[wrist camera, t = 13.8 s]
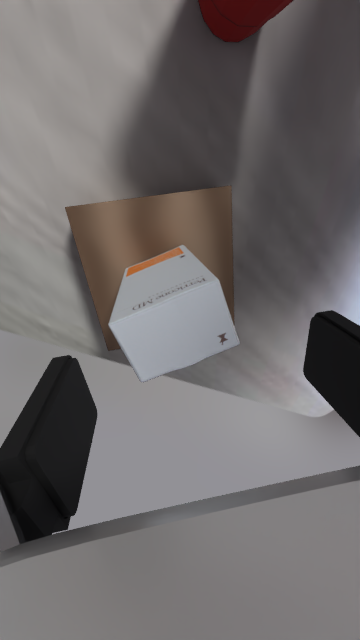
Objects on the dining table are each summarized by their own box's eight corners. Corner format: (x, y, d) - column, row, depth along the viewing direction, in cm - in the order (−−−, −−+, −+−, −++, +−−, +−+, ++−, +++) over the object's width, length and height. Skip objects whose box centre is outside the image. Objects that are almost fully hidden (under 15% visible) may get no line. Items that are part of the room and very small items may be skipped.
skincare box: (183, 242, 22) (223, 276, 11) (197, 283, 24) (243, 346, 13) (122, 267, 22) (104, 325, 11) (141, 306, 24) (142, 387, 13)
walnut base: (218, 188, 24) (231, 185, 21) (223, 313, 30) (234, 328, 27) (76, 207, 23) (64, 207, 19) (112, 333, 29) (108, 350, 26)
